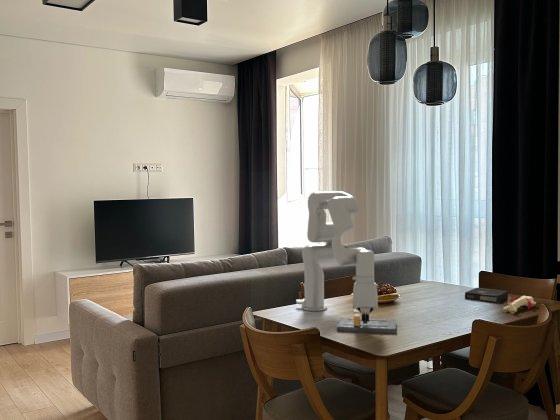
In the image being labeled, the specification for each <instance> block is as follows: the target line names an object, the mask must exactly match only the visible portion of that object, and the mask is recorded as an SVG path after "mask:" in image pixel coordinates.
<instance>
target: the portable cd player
mask: <svg viewBox="0 0 560 420" xmlns="http://www.w3.org/2000/svg"><path fill="white" fill-rule="evenodd" d="M508 297H509V291H508V290H502V289H492V288H486V287H475V288H472V289H470V290H467V291H464V300H468V299H470V300H469V301H475V300H476V302H484V303H492V304H498V303H500V302H502V301H504V300H506V299H508Z"/></svg>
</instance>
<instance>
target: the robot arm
mask: <svg viewBox="0 0 560 420" xmlns="http://www.w3.org/2000/svg"><path fill="white" fill-rule="evenodd" d="M307 208H308V219H307V220H308V221H307V224H308V225H307V233H306V234H307V240H308V241H309V242H311V243H314V244H308V245H306V246H304V248H302V251H301V254H302V255H301V256H302V257H301V258H302V263H303V268H304V271H303V272H304V274H303V275H304V298H302V299H296V300H295V304H298V305H301V310H304V311H306V312H307V311H309V312H321V311H326V310H327V309H328V305H327V304H325V274H324V270H323V268H322V267H321V265H320V264H328V263H334V262H335V261H336V263H337V264H338V266H340V267H349V266H350V267H351V266H352V267H353V266H355V276H352V281H355V282H354V283H353V288H352V290H353V291H352V307H351V309H356V310H358V311H359V312H360V315H361V318H362V321H363V324H367V321H368V322H369V318H370V313H372V312H373V311H377V310H379V305H378V304H379V302H378V300H379V299H378V287H377V283H376V282H375V253H374V251H373V250H370V249H366V248H365V247H347V248H345V247H343V244H342V237H343V236H345V235H347V234H349V233H350V232H351V231H352V230H353V229H354V228H355V224H354V221H353V219H352V216H353V215H356V214H358V213H359V209H360V205H359V201H358V199H356V197H355V196H353V195H352V194H349V193H347V192H344V191H339V190H337V191H336V190H332V191H331V190H329V191H328V190H326V191H322V190H321V191H313V192H312V193H310V194H309V196H308V198H307ZM326 210H328V213H329V216H330V218H331V222H327V213H326ZM351 215H352V216H351ZM316 243H317V244H316ZM366 308H367V309H366ZM365 309H366V312H365Z"/></svg>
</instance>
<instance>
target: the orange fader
mask: <svg viewBox="0 0 560 420" xmlns="http://www.w3.org/2000/svg"><path fill="white" fill-rule="evenodd" d="M353 318H354V326H360V318H361V313H360V314H354V313H353Z"/></svg>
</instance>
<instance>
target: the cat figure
mask: <svg viewBox="0 0 560 420" xmlns="http://www.w3.org/2000/svg"><path fill="white" fill-rule="evenodd" d="M516 298H518V296H513V298H512V297H511V296H508V298H507V302H506V303H507V304H508V305H507V306H503V308H502V310H501V311H502V313H504V314H506V313H508V312H509V313H510V314H511V315H515V314H516V312H518V309H519V308H520V307H522V306H525V307H527V310H529V309H531V308H532V307H533V306H534V305H536V304H537V302H536V301H534V298H533V296H527V295H522V296H520V297H519V298H518V299H516Z"/></svg>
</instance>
